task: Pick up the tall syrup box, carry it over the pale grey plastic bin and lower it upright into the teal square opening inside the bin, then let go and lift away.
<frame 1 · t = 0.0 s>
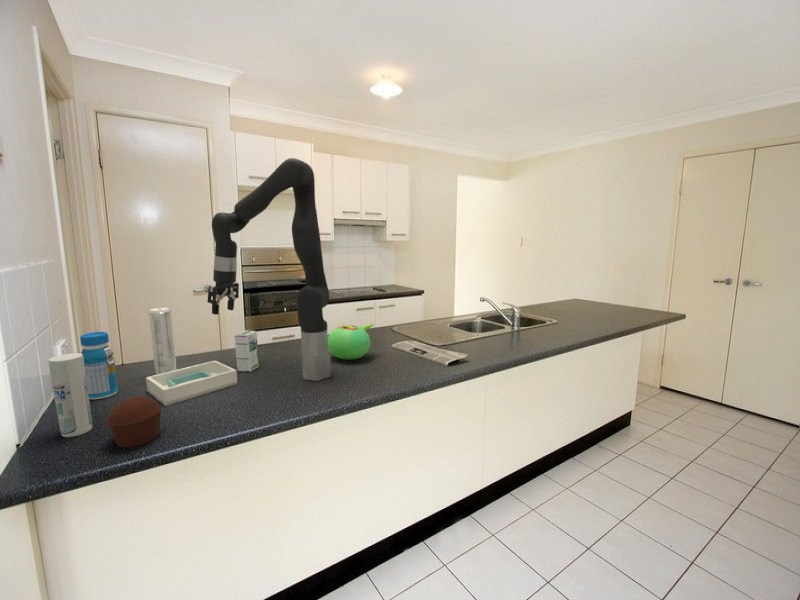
hand: (223, 311, 137), 22 cm above the countertop, tool pointing down, fingers open, 8 cm apart
blue supplement bottle: (102, 395, 118), on the countertop
muffin: (137, 438, 93), on the countertop
bin: (193, 387, 124), on the countertop
spray can: (77, 431, 96), on the countertop
silver metal cylinder: (166, 377, 134), on the countertop
syrup box: (248, 369, 142), on the countertop
newspaper: (428, 355, 161), on the countertop
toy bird: (349, 358, 155), on the countertop
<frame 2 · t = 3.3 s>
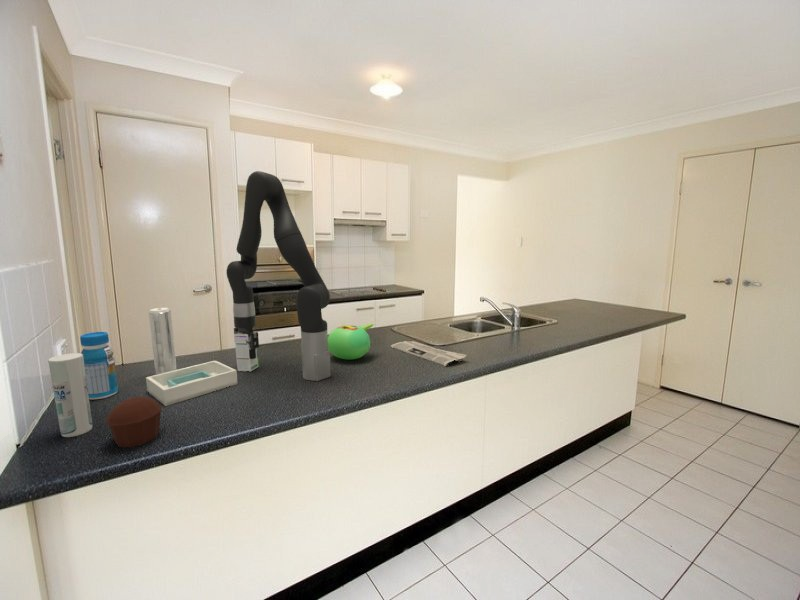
hand: (247, 356, 141), 5 cm above the countertop, tool pointing down, fingers closed on syrup box, 7 cm apart
syrup box: (248, 369, 142), on the countertop, touching gripper
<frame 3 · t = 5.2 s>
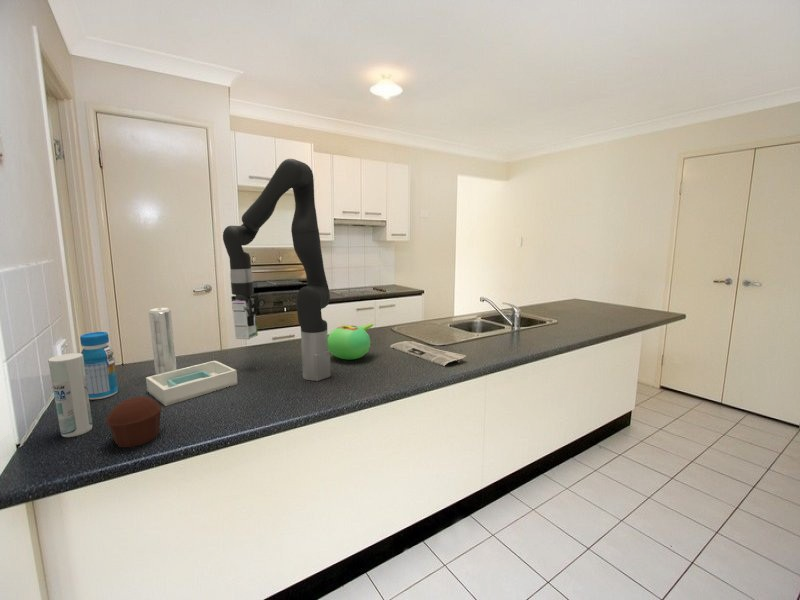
hand: (245, 324, 139), 17 cm above the countertop, tool pointing down, fingers closed on syrup box, 7 cm apart
syrup box: (246, 337, 140), point 12 cm above the countertop, touching gripper
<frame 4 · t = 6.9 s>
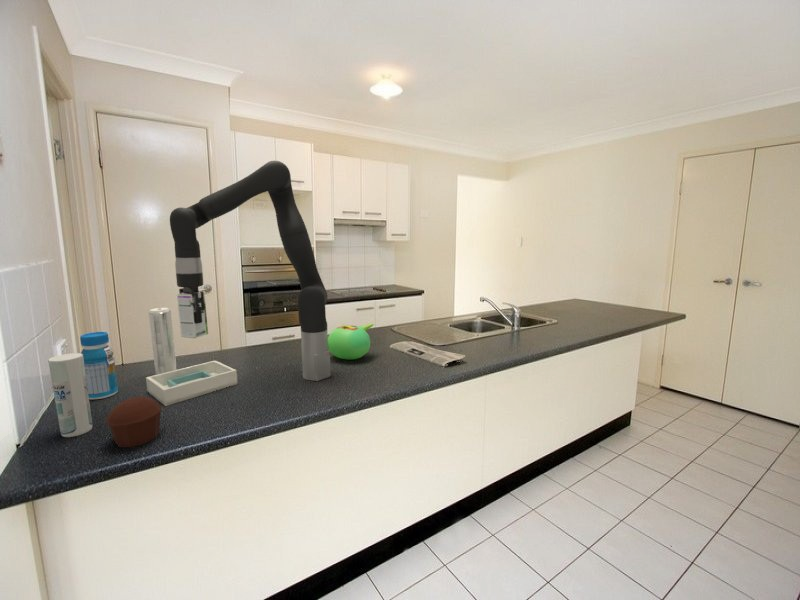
hand: (193, 321, 122), 22 cm above the countertop, tool pointing down, fingers closed on syrup box, 7 cm apart
syrup box: (194, 336, 123), point 17 cm above the countertop, touching gripper
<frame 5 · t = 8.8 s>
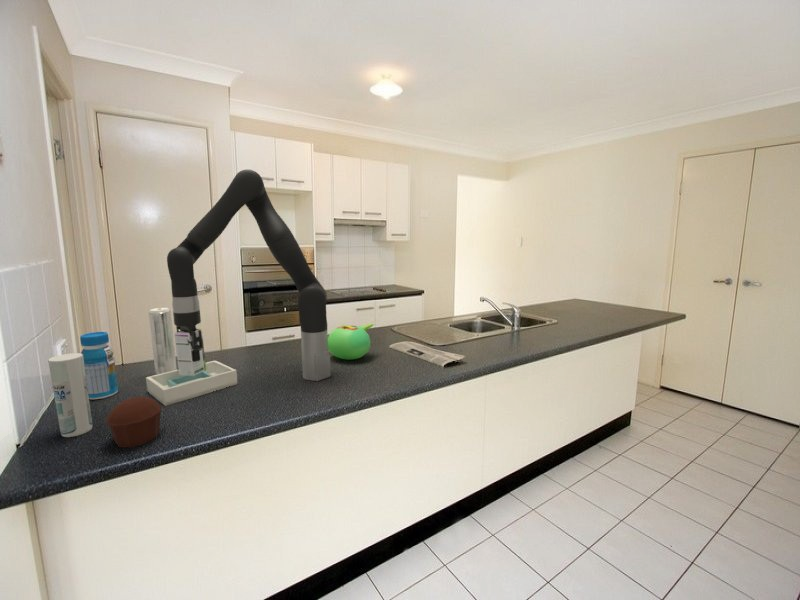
hand: (191, 358, 122), 10 cm above the countertop, tool pointing down, fingers closed on syrup box, 7 cm apart
syrup box: (192, 373, 123), point 5 cm above the countertop, touching gripper
when the fingers open (7 cm above the countertop, at t = 10.5 s): syrup box stays where it is, resting on bin.
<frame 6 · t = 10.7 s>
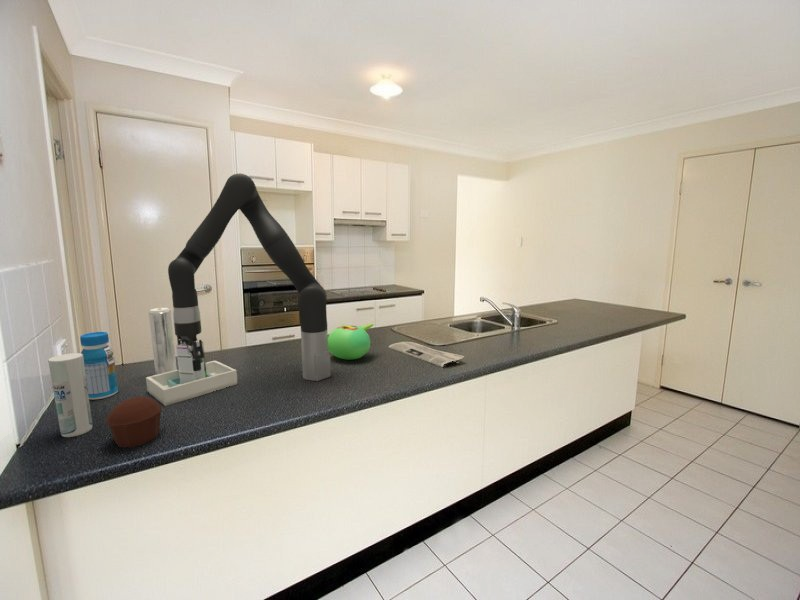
hand: (191, 367, 122), 7 cm above the countertop, tool pointing down, fingers open, 8 cm apart
syrup box: (194, 385, 124), point 1 cm above the countertop, touching bin
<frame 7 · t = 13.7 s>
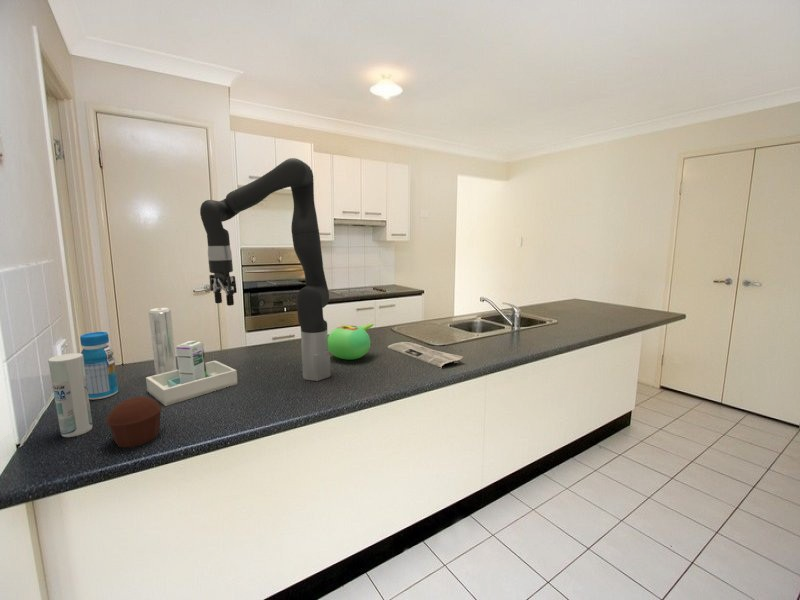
hand: (224, 304, 133), 26 cm above the countertop, tool pointing down, fingers open, 8 cm apart
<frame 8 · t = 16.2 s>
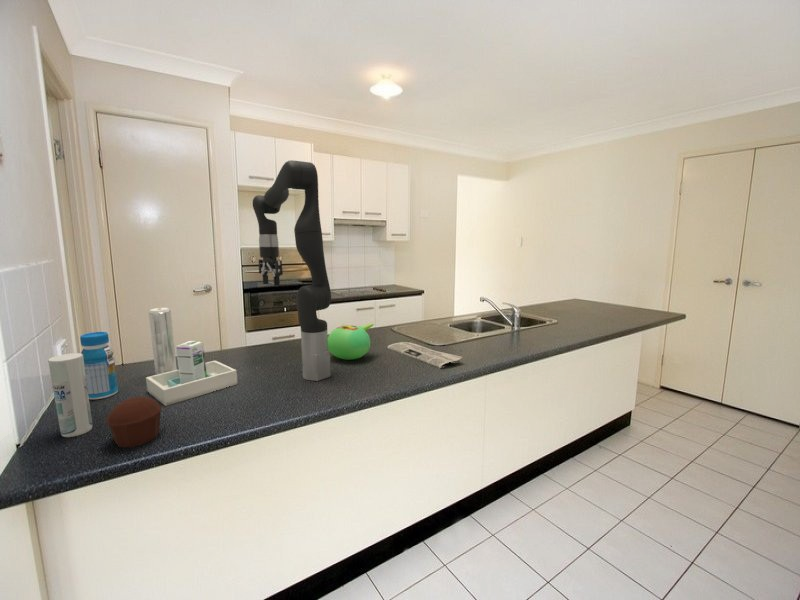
hand: (271, 284, 155), 30 cm above the countertop, tool pointing down, fingers open, 8 cm apart
at the end: syrup box inside the target area on the bin (0.2 cm from its centre), point 0.8 cm above the bin's base; syrup box tilted 0°; the gripper is holding nothing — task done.
